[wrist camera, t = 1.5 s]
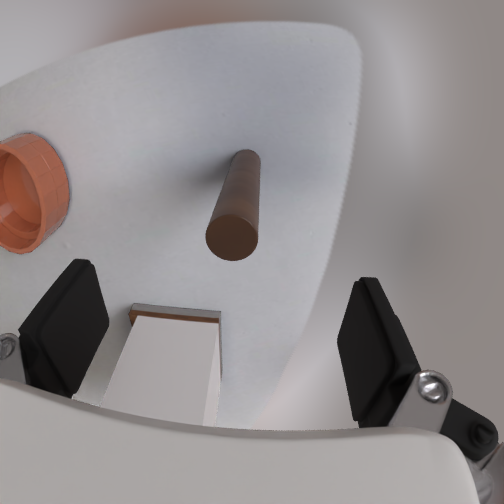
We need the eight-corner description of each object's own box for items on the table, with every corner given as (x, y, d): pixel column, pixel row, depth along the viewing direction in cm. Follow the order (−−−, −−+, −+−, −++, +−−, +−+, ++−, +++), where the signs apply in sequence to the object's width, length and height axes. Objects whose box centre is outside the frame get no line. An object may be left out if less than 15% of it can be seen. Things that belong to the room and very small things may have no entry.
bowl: (-13, 171, 26) (-39, 186, 22) (36, 110, 23) (4, 118, 18) (34, 247, 31) (12, 269, 27) (90, 201, 28) (66, 223, 24)
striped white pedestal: (134, 303, 35) (37, 588, 5) (220, 311, 35) (177, 639, 5) (149, 362, 41) (93, 589, 11) (222, 370, 41) (195, 615, 10)
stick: (228, 156, 26) (195, 228, 14) (252, 144, 25) (242, 205, 13) (240, 179, 27) (221, 268, 15) (265, 168, 26) (267, 249, 14)
